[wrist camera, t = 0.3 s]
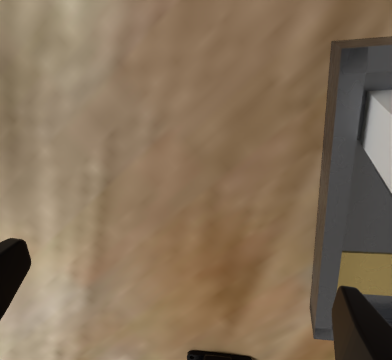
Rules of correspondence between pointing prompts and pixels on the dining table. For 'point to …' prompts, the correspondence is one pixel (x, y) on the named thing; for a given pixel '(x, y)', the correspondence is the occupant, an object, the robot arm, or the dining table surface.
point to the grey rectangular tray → (352, 189)
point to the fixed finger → (379, 134)
